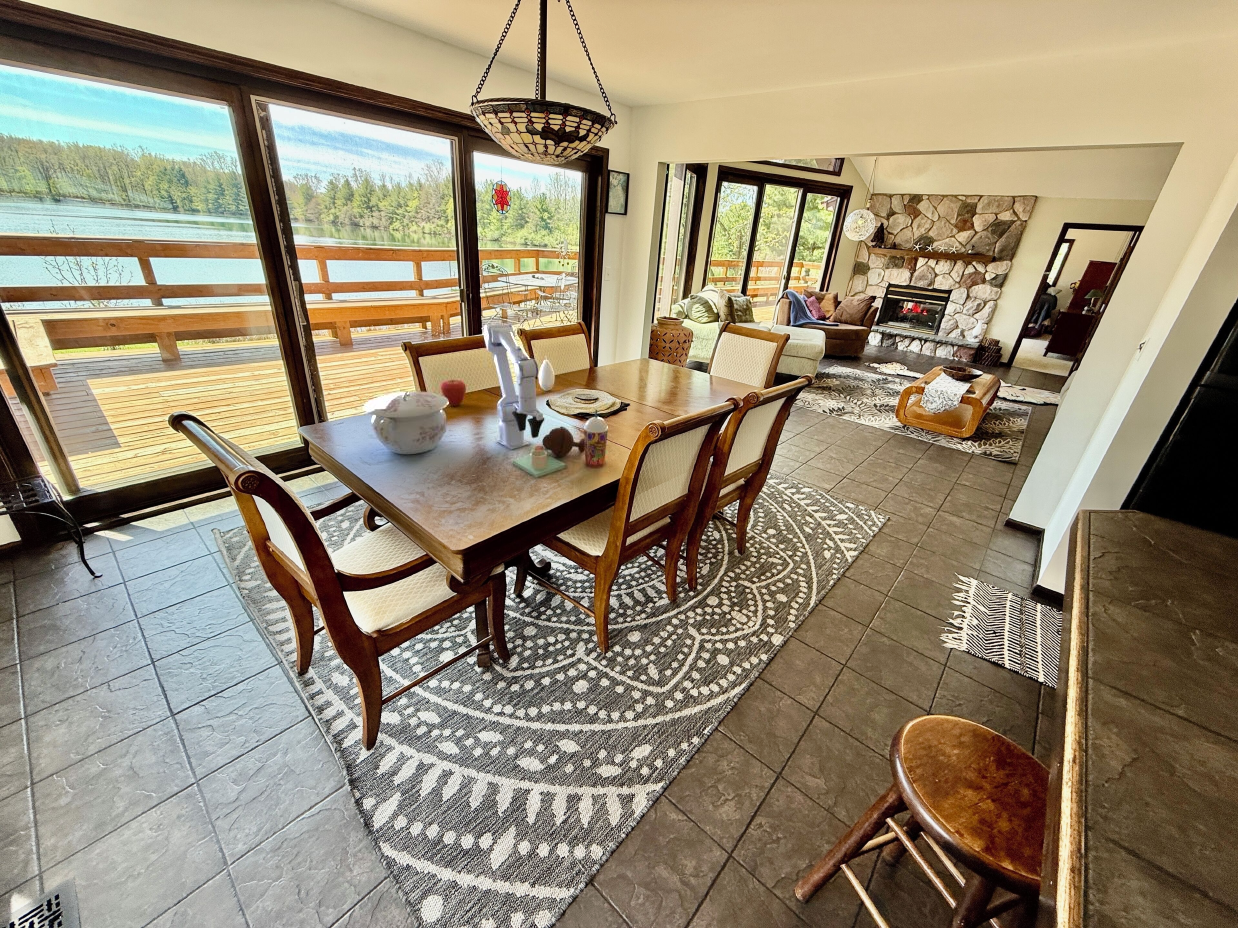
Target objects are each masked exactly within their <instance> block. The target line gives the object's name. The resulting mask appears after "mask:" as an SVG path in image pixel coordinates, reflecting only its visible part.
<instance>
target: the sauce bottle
mask: <svg viewBox="0 0 1238 928" xmlns="http://www.w3.org/2000/svg"><path fill="white" fill-rule="evenodd" d="M555 380H556V379H555V372H554V369H553V366H552V363H550V360H548V356H547V355H545V359H544V360H543V363H542V364H541V366H540V369H539V371H538V383H539V386H540V388H541V389H542V390H543V391H544V392H549V391H551V389H552V388H554V384H555Z"/></svg>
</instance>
